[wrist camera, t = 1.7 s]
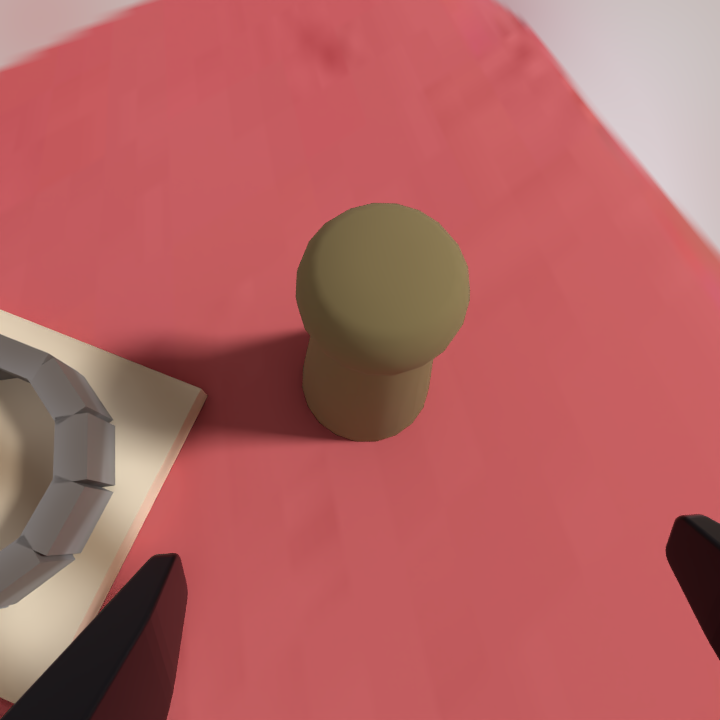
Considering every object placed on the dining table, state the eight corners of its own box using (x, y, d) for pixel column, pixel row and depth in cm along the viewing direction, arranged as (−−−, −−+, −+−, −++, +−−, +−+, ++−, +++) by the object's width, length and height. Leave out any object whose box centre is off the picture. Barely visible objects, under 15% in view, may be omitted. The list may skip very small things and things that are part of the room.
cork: (281, 351, 24) (239, 214, 14) (391, 301, 25) (429, 140, 15) (336, 465, 23) (336, 407, 12) (452, 406, 24) (541, 307, 13)
